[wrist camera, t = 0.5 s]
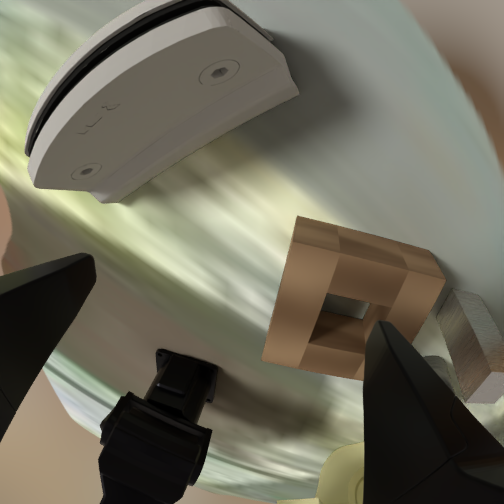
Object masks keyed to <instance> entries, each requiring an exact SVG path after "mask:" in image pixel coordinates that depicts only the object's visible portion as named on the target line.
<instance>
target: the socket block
mask: <svg viewBox="0 0 504 504" xmlns="http://www.w3.org/2000/svg"><path fill="white" fill-rule="evenodd" d="M445 282H446V279H445V277H444V275H443V273H442V271H441V270H440V268H439V266H438V265H437V263H436V261H435V259H434V258H433V256H432V254H431V253H430V251H429V250H426V249H422V248H419V247H415V246H412V245H408V244H404V243H401V242H397V241H394V240H390V239H386V238H383V237H379V236H375V235H372V234H368V233H364V232H360V231H356V230H352V229H349V228H345V227H341V226H337V225H333V224H329V223H325V222H321V221H317V220H313V219H309V218H304V217H300V216H297V218H296V223H295V227H294V231H293V235H292V239H291V243H290V247H289V251H288V255H287V259H286V263H285V267H284V271H283V275H282V279H281V283H280V287H279V291H278V295H277V299H276V302H275V306H274V310H273V314H272V317H271V321H270V325H269V329H268V333H267V337H266V342H265V346H264V350H263V354H262V358H261V360H262V361H266V362H270V363H274V364H279V365H283V366H288V367H292V368H297V369H301V370H306V371H311V372H316V373H321V374H326V375H332V376H337V377H343V378H349V379H355V380H361V381H363V380H364V364H365V346H366V342H367V339H368V337H369V335H370V333H371V331H372V328H373V326H374V324H375V322H376V321H377V320H384V321H389V322H391V323H392V324H393V325H394V326H395V327H396V328H397V330H398V331H399V332H400V333H401V334H402V335H403V336H404V337H405V338H406V339H407V340H408V342H409V343H410V344H411V343H412V342H413V340H414V338H415V337H416V335H417V333H418V332H419V330H420V328H421V327H422V325H423V323H424V321H425V320H426V318H427V316H428V314H429V313H430V311H431V309H432V307H433V305H434V303H435V302H436V300H437V298H438V296H439V294H440V292H441V290H442V288H443V286H444V284H445ZM327 293H329V294H334V295H338V296H343V297H347V298H351V299H356V300H360V301H365V302H369V303H370V305H369V307H368V309H367V311H366V314H365V316H364V318H363V320H361V319H357V318H352V317H348V316H343V315H338V314H334V313H329V312H325V311H320V310H321V308H322V305H323V302H324V299H325V297H326V294H327Z"/></svg>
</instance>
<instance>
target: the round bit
mask: <svg viewBox="0 0 504 504" xmlns="http://www.w3.org/2000/svg"><path fill="white" fill-rule="evenodd" d="M423 358H424V359H425V360H426V362H427V363H428V364H429V365H430V366H431V367H432V368H433V370H434V371H435V372H436V373H437V374H438V375H439V376H440V378H441V379H442V380H443V381H444V382H445V383H446V384H447V386H448V387H449V388H450V389H451V390H452V391H453V393H454V389H453V386H452V382H451V379H450V375H449V372H448V369H447V366H446V362H445V360H444V359H443V358H441V357H439V356H425V357H423ZM454 394H455V393H454Z"/></svg>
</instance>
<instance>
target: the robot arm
mask: <svg viewBox="0 0 504 504" xmlns="http://www.w3.org/2000/svg"><path fill="white" fill-rule="evenodd" d="M96 277H97V276H96V269H95V261H94V257H93V256H92V255H90V254H87V253H78V254H75V255H71V256H67V257H64V258H60V259H57V260H53V261H50V262H46V263H43V264H39V265H36V266H33V267H29V268H26V269H23V270H19V271H16V272H13V273H9V274H6V275H3V276H0V442H1V440H2V438H3V436H4V434H5V432H6V430H7V429H8V427H9V425H10V423H11V421H12V419H13V417H14V415H15V414H16V411H17V410H18V408H19V406H20V404H21V403H22V401H23V399H24V397H25V396H26V394H27V392H28V390H29V389H30V387H31V385H32V384H33V382H34V380H35V379H36V377H37V376H38V374H39V372H40V371H41V369H42V367H43V366H44V364H45V363H46V361H47V360H48V358H49V356H50V355H51V353H52V352H53V350H54V349H55V347H56V346H57V344H58V343H59V341H60V340H61V338H62V337H63V335H64V334H65V332H66V331H67V329H68V328H69V326H70V325H71V323H72V322H73V320H74V319H75V317H76V316H77V314H78V312H79V311H80V309H81V307H82V305H83V303H84V302H85V300H86V298H87V296H88V295H89V293H90V291H91V290H92V288H93V286H94V285H95V282H96ZM156 364H157V375H156V377H155V379H154V380H153V382H152V384H151V386H150V388H149V390H148V392H147V393H146V395H145V397H144V399H141V398H139V397H137V396H135V395H134V393H132V392H130V391H129V392H128V393H127V395H126V396H121V397H120V399H119V401H118V403H117V404H116V406H115V407H114V409H113V410H112V411H111V412H110V413H109V414H108V415H107V416H106V418H105V419H104V420H103V421H102V422H101V424H100V428H101V430H102V434H101V440H100V444H101V445H103V446H104V448H103V450H102V452H101V454H100V456H99V459H98V463H99V471H100V477H101V483H102V489H103V498H102V500H101V502H100V504H174V503H175V502H177V501H178V500H180V499H181V498H182V497H183V495H184V492H185V490H186V488H187V485H190V486H193V485H194V484H195V482H196V481H197V479H198V477H199V475H200V473H201V471H202V468H203V465H204V462H205V459H206V455H207V451H208V447H209V443H210V438H211V434H212V430H211V429H209V428H204V427H202V426H199V425H197V423H198V420H199V417H200V415H201V412H202V409H203V407H204V404H205V402H208V403H212V402H213V399H214V393H215V385H216V378H217V371H218V369H217V367H216V366H214V365H211V364H208V363H204V362H201V361H197V360H194V359H191V358H188V357H184V356H181V355H178V354H175V353H172V352H169V351H166V350H163V349H158V350H157V351H156ZM363 409H364V486H363V504H504V447H503V446H502V445H501V444H500V443H499V442H498V441H497V440H496V439H495V438H494V437H493V436H492V435H491V434H490V433H489V432H488V431H487V430H486V429H485V428H484V426H483V425H482V424H481V423H480V422H479V421H478V420H477V419H476V418H475V417H474V416H473V415H472V414H471V412H470V411H469V410H468V409H467V408H466V407H465V406H464V404H463V403H462V402H461V401H460V400H459V398H458V397H457V396H455V394H454V393H453V391H452V390H451V389H450V388H449V387H448V386H447V384H446V383H445V382H444V381H443V380H442V379H441V378H440V376H439V375H438V374H437V373H436V372H435V371H434V370H433V368H432V367H431V366H430V365H429V364H428V363H427V362H426V360H425V359H424V358H423V357H422V356H421V355H420V354H419V353H418V352H417V350H416V349H415V348H414V347H413V346H412V345H411V344H410V343H409V342H408V340H407V339H406V338H405V337H404V336H403V335H402V334H401V333H400V332H399V331H398V330H397V328H396V327H395V326H394V325H393V324H392V323H391V322H389V321H384V320H377V321H376V322H375V324H374V326H373V328H372V331H371V333H370V335H369V337H368V339H367V342H366V346H365V364H364V380H363Z"/></svg>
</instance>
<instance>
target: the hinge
mask: <svg viewBox="0 0 504 504" xmlns="http://www.w3.org/2000/svg"><path fill="white" fill-rule="evenodd" d="M272 40H274V39H273V38H272V37H271V36H270V35H269V34H268V33H267V32H266V31H265V30H264V29H263V28H261V27H260V26H259V25H258V24H257V23H256V22H254V21H253V20H252V19H251V18H250V17H249V16H247V15H246V14H245V13H244V12H242V11H241V10H240V9H239V8H238V7H236V6H235V5H234V4H232V3H231V2H230V1H229V0H146V1H144V2H142V3H140V4H138V5H136V6H134V7H133V8H131V9H129V10H128V11H126V12H124V13H123V14H121V15H120V16H118V17H116V18H115V19H114V20H112V21H111V22H109V23H108V24H107V25H105V26H104V27H102V28H101V29H100V30H98V31H97V32H96V33H95V34H93V35H92V36H91V37H90V38H89V39H88V40H87V41H85V42H84V43H83V44H82V45H81V46H80V47H79V48H78V49H77V50H76V51H75V52H74V53H73V54H72V55H71V56H70V57H69V58H68V59H67V60H66V61H65V63H64V64H63V65H62V66H61V67H60V68H59V70H58V71H57V72H56V73H55V75H54V76H53V77H52V79H51V80H50V82H49V83H48V85H47V86H46V88H45V89H44V91H43V93H42V94H41V96H40V98H39V100H38V102H37V104H36V106H35V108H34V110H33V113H32V115H31V118H30V121H29V124H28V128H27V133H26V138H25V154H26V155H27V156H28V157H30V159H29V163H28V168H27V169H28V173H29V175H30V178H31V180H32V182H33V185H34V186H35V187H36V188H39V189H56V190H73V191H87V192H89V193H91V194H92V195H93V196H94V197H95V198H96V199H97V200H98V201H99V202H101V203H103V204H104V203H118V202H119V201H120V200H122V199H123V198H125V197H126V196H128V195H129V194H130V193H132V192H133V191H135V190H136V189H138V188H139V187H140V186H142V185H143V184H145V183H146V182H148V181H149V180H151V179H152V178H154V177H155V176H157V175H158V174H160V173H161V172H163V171H164V170H166V169H168V168H169V167H171V166H172V165H174V164H175V163H177V162H178V161H180V160H182V159H183V158H185V157H186V156H188V155H190V154H191V153H193V152H195V151H196V150H198V149H200V148H201V147H203V146H205V145H206V144H208V143H210V142H211V141H213V140H215V139H216V138H218V137H220V136H222V135H223V134H225V133H227V132H229V131H230V130H232V129H234V128H236V127H238V126H239V125H241V124H243V123H245V122H247V121H249V120H250V119H252V118H254V117H256V116H258V115H260V114H262V113H264V112H266V111H268V110H269V109H271V108H273V107H275V106H277V105H279V104H281V103H283V102H285V101H287V100H289V99H291V98H294V97H296V96H298V95H300V93H299V91H298V88H297V86H296V84H295V83H294V81H293V80H292V78H291V75H290V72H289V69H288V65H287V62H286V59H285V56H284V54H283V53H281V52H280V51H279V50H278V49H277V48H276V47H275V46H274V45H272V44H271V43H270V41H272Z"/></svg>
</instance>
